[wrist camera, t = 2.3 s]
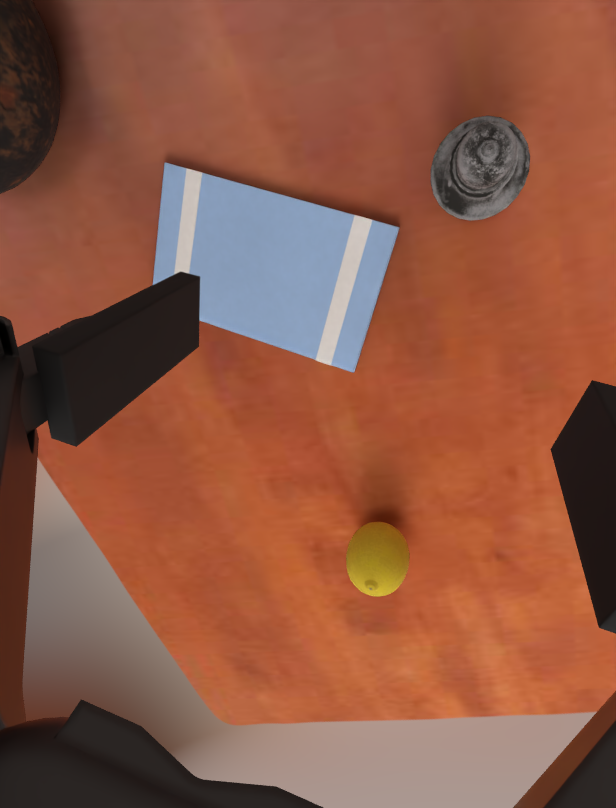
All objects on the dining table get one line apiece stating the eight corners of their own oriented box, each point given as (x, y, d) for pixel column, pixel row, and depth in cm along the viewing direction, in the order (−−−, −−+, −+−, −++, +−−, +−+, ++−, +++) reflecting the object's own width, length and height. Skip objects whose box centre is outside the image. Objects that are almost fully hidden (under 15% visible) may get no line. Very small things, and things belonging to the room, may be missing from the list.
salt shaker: (530, 127, 30) (577, 68, 19) (511, 223, 32) (543, 219, 21) (438, 128, 31) (433, 74, 20) (426, 219, 33) (416, 214, 22)
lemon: (344, 528, 45) (324, 584, 38) (380, 495, 42) (366, 549, 35) (387, 563, 45) (375, 626, 38) (424, 532, 42) (419, 593, 35)
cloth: (355, 370, 39) (353, 373, 38) (154, 303, 42) (150, 304, 42) (400, 227, 34) (399, 227, 33) (168, 163, 37) (163, 161, 37)
